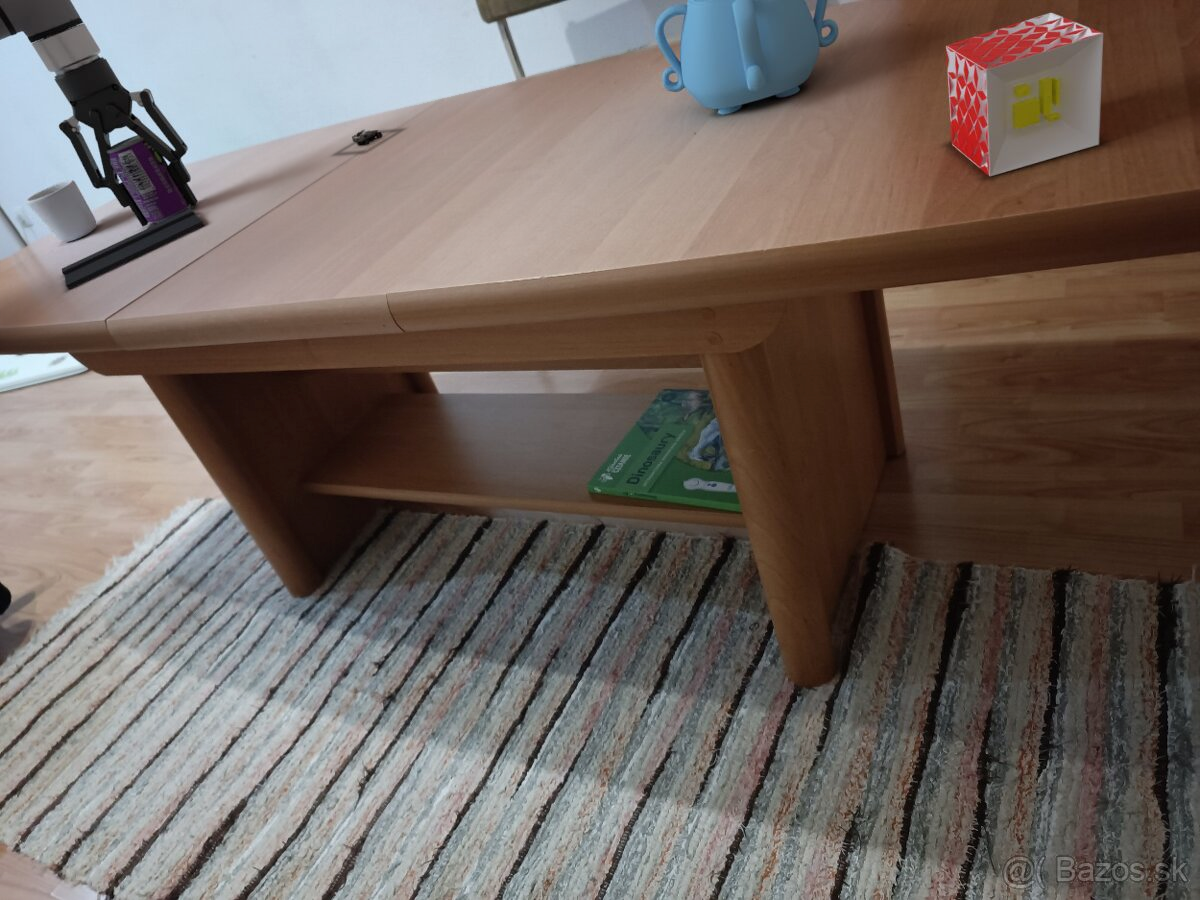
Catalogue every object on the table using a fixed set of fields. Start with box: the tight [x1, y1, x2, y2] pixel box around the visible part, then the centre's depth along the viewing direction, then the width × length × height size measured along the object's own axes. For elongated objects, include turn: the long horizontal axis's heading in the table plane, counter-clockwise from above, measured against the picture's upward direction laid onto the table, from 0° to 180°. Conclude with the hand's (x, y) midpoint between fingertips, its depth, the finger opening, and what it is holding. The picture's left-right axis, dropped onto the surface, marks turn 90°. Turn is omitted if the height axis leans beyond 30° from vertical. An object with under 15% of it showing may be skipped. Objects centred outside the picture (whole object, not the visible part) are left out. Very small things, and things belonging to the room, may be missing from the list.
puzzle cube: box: [945, 12, 1104, 177], centre depth 66 cm, size 8×8×8 cm
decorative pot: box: [654, 0, 839, 115], centre depth 94 cm, size 16×16×14 cm
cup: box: [25, 179, 97, 243], centre depth 145 cm, size 11×8×8 cm
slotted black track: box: [61, 208, 205, 291], centre depth 126 cm, size 20×10×1 cm, turn 122°
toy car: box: [351, 128, 383, 147], centre depth 136 cm, size 3×4×2 cm, turn 143°
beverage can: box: [107, 134, 190, 224], centre depth 133 cm, size 7×7×12 cm
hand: (170, 213), depth 136 cm, fingers open, 7 cm apart
